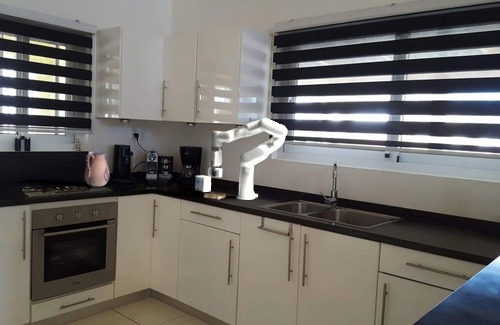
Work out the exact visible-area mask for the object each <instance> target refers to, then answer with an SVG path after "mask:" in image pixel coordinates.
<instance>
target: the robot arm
mask: <svg viewBox="0 0 500 325" xmlns="http://www.w3.org/2000/svg"><path fill="white" fill-rule="evenodd" d="M264 132H265V133H267V134H269V135H270V136H271V135H272V137H271V138H269V139H268V140H266V141H264V142H262V143H261V144H258V145H256V146H255V147H254V148H252V149H251V150H249V151H245V152H243V153H242V154H241V155H240V158H239V180H238V181H239V184H238V195H236V199H238V200H246V201H247V200H249V201H250V200H254V199H256V198H258V196H259V195H258V193H255V191H254V173H255V171H254V168H255V165H257V164H258V163H260V162H262V161H264V160H265V159H267V158H268V157H269V155H270V154H272V153H274V152H275V151H276V150H278V149H279V148H281V147H282V145H283V144H284V142H285V140H286V136H287V135H288V129H287V128H286V126H285V125H283V124H279V123H278V122H275V121H273V120H271V119H269V118H266V117H265V118H260V119H257V120H255V121H251V122H248V123H245V124H243V125H241V126H239V127H236V128H233V129H230V130H227V131H221V130H213V131H211V136H210V138H211V139H210V153H209V159H208V166H209V168H211V170H212V174H211V176H210V177H212V176H213V177H212V178H217V177H216V171H215V170H216V168H219V169H221V167H222V163H223V153H222V152H223V143H231V142H234V141H236V140H238V139H242V138H248V137H251V136H254V135H257V134H260V133H264Z"/></svg>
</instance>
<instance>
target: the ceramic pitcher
mask: <svg viewBox="0 0 500 325" xmlns="http://www.w3.org/2000/svg"><path fill="white" fill-rule="evenodd" d="M106 154H107V153H106V152H101V151H99V152H95V151H90V152H88V154H87V155H86V156H85V165H86V167H85V169H84V170H85V171H84V180H85V182H86V184H87V185H89V186H90V187H94V188H95V187H104V186H105V185H107V183H108V182H109V179H110V170H109V166H108V164H107V160H106Z"/></svg>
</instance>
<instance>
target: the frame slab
mask: <svg viewBox="0 0 500 325" xmlns="http://www.w3.org/2000/svg"><path fill="white" fill-rule="evenodd" d="M215 171H216V177H215V178H222V177H223V168H220V169H219V168H216V170H215ZM211 174H212V170H211V168H210V167H208V168H207V176H208V177H211V178H214V177H213V176H211Z"/></svg>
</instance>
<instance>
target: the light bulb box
mask: <svg viewBox="0 0 500 325" xmlns="http://www.w3.org/2000/svg"><path fill="white" fill-rule="evenodd" d="M211 180H212V176H208V175H203V174H202V175H195V182H194V184H195V186H194V188H195V189H194V190H195V191H199V192H203V193H205V192H206V193H207V192H211V186H212V182H211Z"/></svg>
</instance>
